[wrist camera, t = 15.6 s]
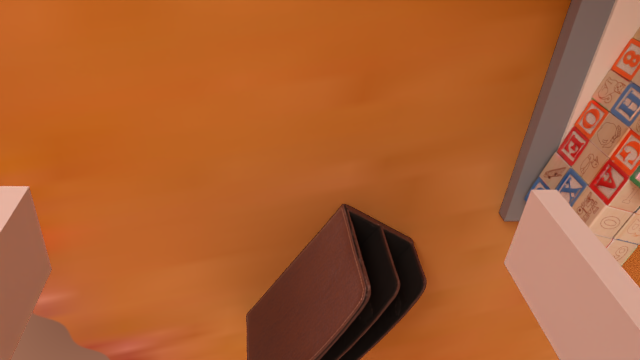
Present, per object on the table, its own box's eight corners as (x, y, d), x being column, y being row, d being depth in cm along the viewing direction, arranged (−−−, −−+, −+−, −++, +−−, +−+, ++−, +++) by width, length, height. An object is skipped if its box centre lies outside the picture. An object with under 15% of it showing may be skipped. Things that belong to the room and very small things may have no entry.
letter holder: (245, 313, 63) (243, 423, 51) (343, 200, 55) (367, 299, 43) (312, 339, 67) (324, 446, 55) (412, 237, 59) (451, 337, 47)
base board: (587, -46, 43) (598, -42, 42) (725, -36, 45) (741, -31, 44) (498, 212, 58) (505, 222, 57) (605, 212, 60) (614, 222, 58)
